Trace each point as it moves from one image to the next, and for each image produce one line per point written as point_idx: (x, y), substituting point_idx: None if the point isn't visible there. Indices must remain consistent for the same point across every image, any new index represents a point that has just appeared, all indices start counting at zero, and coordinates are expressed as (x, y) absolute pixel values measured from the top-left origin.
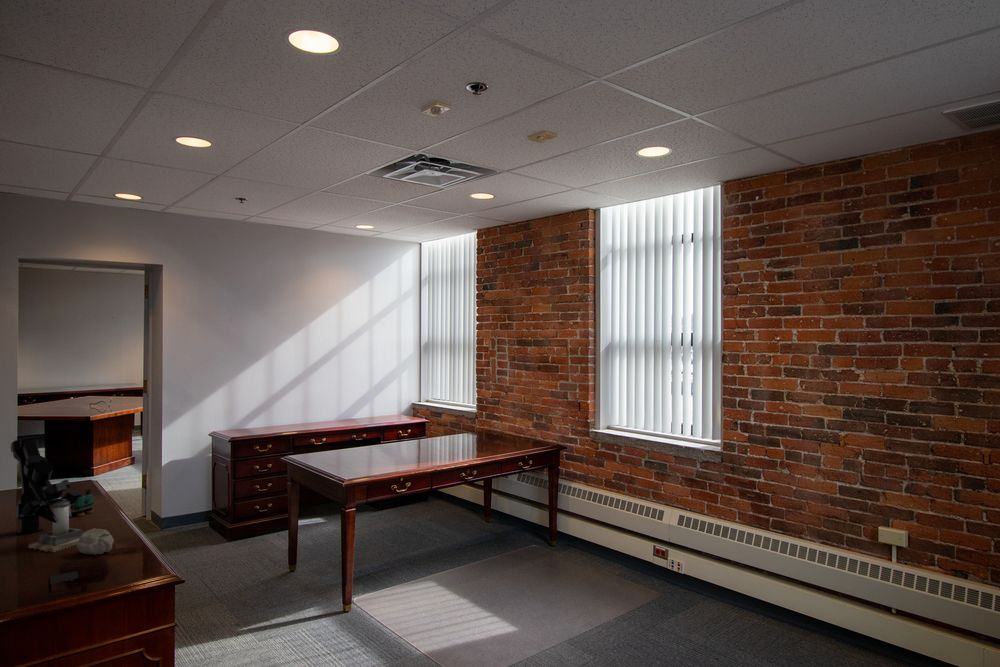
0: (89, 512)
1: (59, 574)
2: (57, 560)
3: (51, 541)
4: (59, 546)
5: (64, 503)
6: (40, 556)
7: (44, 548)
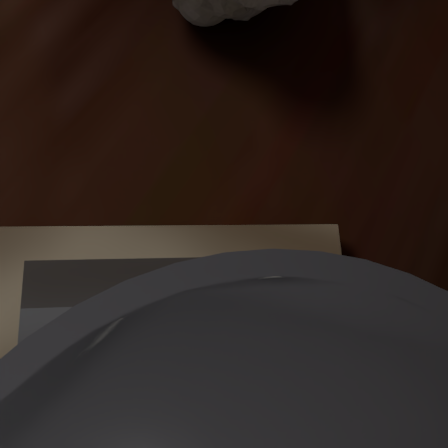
0: None
1: None
2: (387, 64)
3: None
4: (292, 225)
5: (310, 280)
6: (408, 238)
7: None
